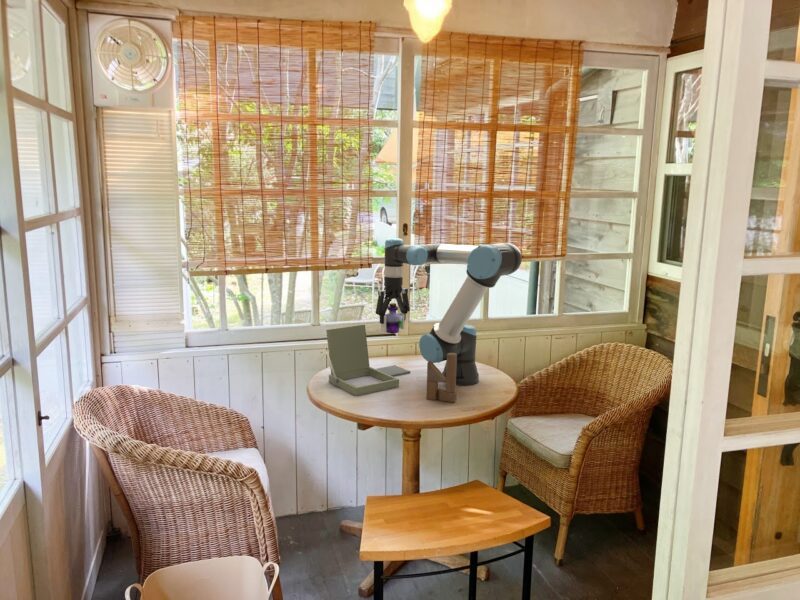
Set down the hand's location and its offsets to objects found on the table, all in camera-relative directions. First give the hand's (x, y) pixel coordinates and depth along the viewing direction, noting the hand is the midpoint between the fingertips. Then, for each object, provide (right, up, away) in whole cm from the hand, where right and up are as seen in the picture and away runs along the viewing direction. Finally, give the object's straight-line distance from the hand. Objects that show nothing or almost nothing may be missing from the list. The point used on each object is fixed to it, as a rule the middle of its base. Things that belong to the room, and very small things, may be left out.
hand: (392, 329), depth 261 cm
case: (-13, -21, -12) cm, 27 cm away
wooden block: (+18, -25, -29) cm, 43 cm away
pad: (0, -18, +3) cm, 18 cm away
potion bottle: (0, -1, 0) cm, 1 cm away
